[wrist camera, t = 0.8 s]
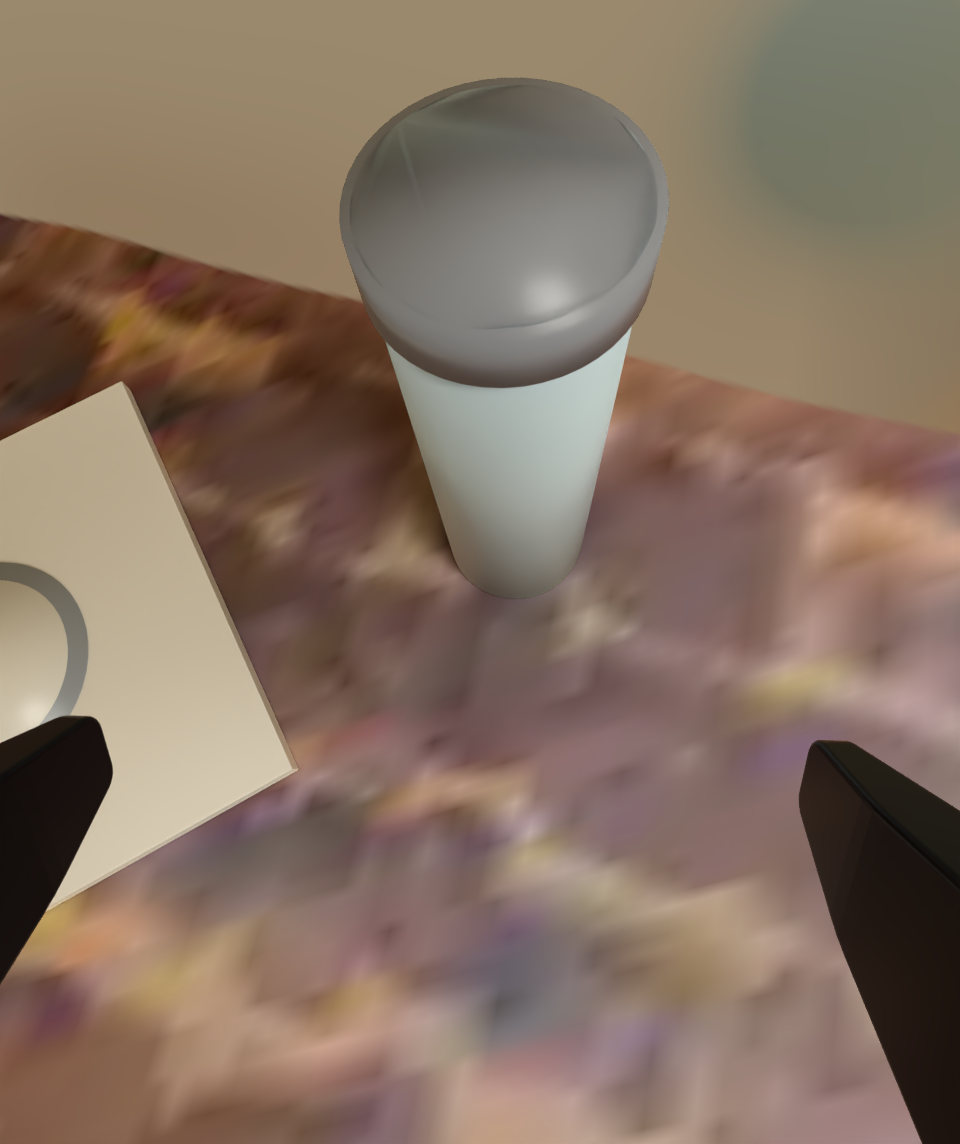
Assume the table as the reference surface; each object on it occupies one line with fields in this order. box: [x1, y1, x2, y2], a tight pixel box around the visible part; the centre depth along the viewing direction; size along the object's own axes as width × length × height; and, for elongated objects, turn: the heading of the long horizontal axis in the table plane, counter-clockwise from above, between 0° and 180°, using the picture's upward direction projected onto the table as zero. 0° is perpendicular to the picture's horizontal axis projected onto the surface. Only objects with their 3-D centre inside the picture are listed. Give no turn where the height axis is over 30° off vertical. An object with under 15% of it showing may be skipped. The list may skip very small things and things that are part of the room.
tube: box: [340, 78, 669, 599], centre depth 17 cm, size 5×5×14 cm
